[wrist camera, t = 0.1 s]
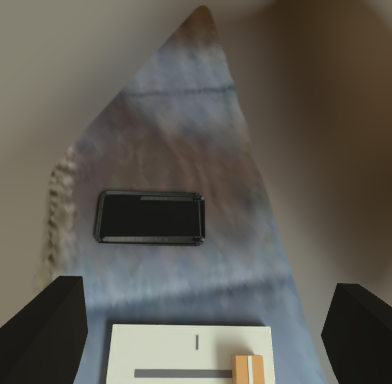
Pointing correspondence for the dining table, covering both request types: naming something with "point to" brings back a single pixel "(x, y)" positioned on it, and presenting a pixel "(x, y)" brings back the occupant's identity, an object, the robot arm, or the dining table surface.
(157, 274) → the dining table surface
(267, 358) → the board
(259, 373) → the fader orange
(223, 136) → the dining table surface
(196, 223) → the phone
